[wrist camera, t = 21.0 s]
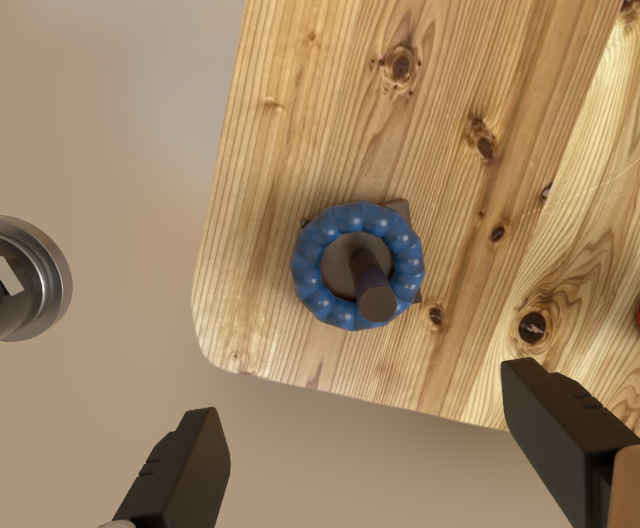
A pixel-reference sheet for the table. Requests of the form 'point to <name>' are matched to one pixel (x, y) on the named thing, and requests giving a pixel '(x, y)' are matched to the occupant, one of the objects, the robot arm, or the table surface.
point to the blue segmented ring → (344, 222)
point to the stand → (363, 269)
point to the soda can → (638, 316)
